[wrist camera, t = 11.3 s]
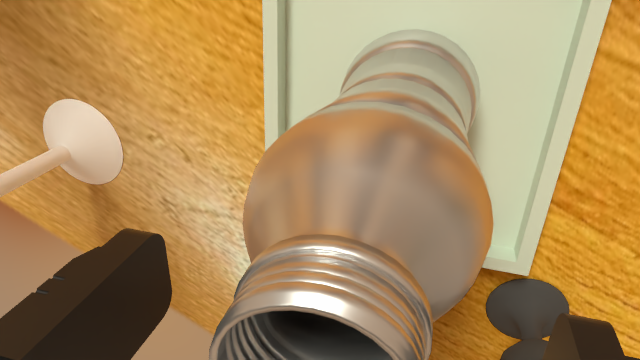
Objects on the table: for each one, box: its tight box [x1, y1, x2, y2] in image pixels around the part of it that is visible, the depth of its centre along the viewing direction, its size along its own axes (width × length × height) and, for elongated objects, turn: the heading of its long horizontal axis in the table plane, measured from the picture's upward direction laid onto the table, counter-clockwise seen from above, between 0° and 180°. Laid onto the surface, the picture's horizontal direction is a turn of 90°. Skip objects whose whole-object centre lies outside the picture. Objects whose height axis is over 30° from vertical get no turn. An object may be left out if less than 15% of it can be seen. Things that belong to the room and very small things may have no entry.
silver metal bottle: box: [209, 29, 494, 360], centre depth 16 cm, size 6×7×20 cm
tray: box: [262, 0, 612, 276], centre depth 25 cm, size 20×16×2 cm
